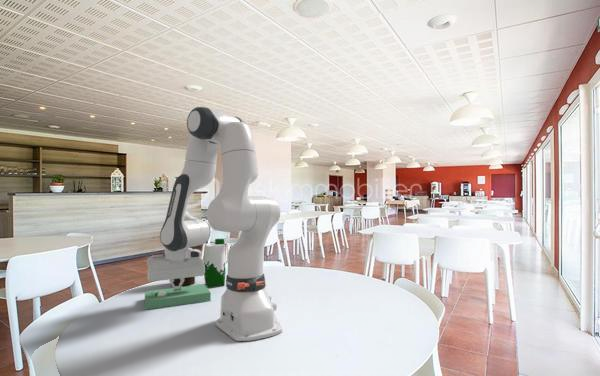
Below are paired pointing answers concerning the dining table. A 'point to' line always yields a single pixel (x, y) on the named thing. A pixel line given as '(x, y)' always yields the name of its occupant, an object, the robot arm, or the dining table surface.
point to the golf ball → (162, 293)
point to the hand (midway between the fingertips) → (176, 290)
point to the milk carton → (215, 263)
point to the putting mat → (177, 296)
